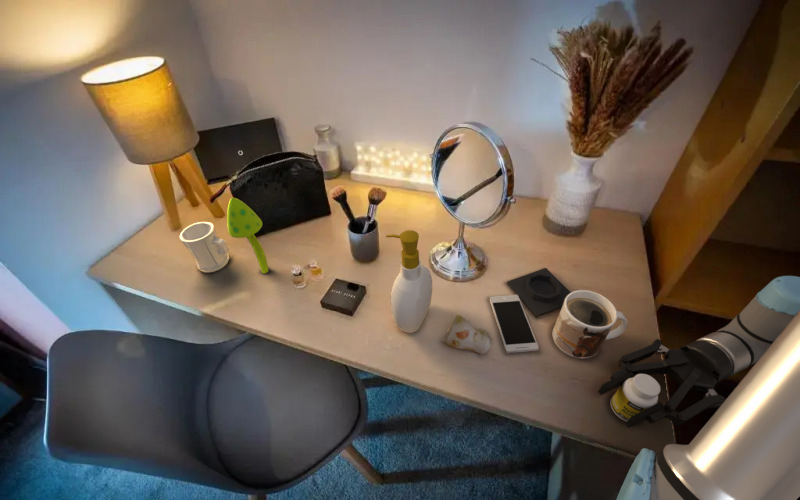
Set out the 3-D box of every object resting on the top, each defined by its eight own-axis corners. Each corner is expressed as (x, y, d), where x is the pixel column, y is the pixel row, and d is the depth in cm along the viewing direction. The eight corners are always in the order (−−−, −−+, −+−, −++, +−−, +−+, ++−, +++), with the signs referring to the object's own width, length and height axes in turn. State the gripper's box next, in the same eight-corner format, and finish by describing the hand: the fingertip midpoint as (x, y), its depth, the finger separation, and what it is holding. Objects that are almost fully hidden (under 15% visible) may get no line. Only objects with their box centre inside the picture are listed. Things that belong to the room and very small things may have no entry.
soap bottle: (405, 291, 91) (399, 210, 74) (438, 300, 88) (440, 218, 71) (382, 335, 81) (369, 253, 64) (418, 347, 79) (415, 265, 61)
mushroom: (246, 282, 97) (208, 208, 80) (254, 261, 103) (220, 189, 86) (276, 280, 97) (244, 206, 80) (282, 259, 103) (254, 186, 86)
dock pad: (577, 302, 86) (580, 294, 84) (536, 318, 83) (538, 310, 81) (545, 270, 94) (547, 262, 92) (506, 283, 91) (508, 275, 89)
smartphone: (517, 296, 88) (518, 294, 87) (538, 350, 76) (539, 348, 76) (488, 298, 88) (489, 296, 87) (506, 353, 76) (506, 351, 76)
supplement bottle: (612, 420, 65) (633, 395, 58) (607, 392, 69) (625, 366, 62) (645, 426, 64) (669, 402, 57) (638, 398, 68) (660, 372, 61)
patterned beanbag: (488, 367, 74) (467, 343, 69) (452, 356, 81) (430, 334, 76) (500, 336, 78) (481, 311, 72) (464, 329, 85) (444, 306, 79)
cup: (234, 247, 109) (219, 216, 101) (237, 265, 102) (220, 234, 94) (198, 258, 106) (179, 227, 98) (199, 277, 99) (178, 246, 91)
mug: (564, 312, 84) (578, 280, 76) (618, 340, 77) (638, 309, 70) (544, 341, 78) (556, 310, 71) (599, 374, 72) (619, 343, 64)
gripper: (750, 412, 62) (652, 468, 57) (659, 332, 76) (571, 371, 70) (778, 392, 57) (673, 451, 52) (675, 310, 71) (582, 350, 65)
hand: (615, 405), depth 61 cm, fingers closed on supplement bottle, 5 cm apart
